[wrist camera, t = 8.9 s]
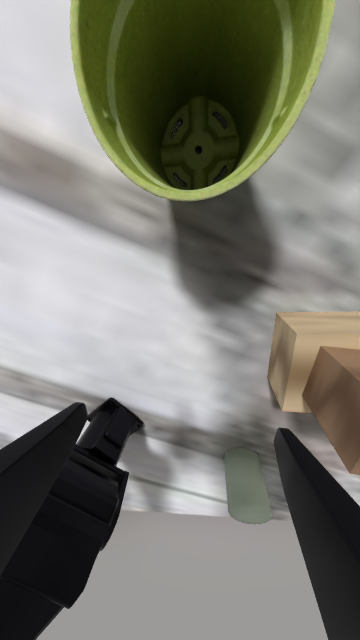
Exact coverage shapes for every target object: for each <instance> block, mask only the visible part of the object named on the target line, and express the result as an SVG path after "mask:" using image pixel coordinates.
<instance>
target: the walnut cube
mask: <svg viewBox="0 0 360 640" xmlns="http://www.w3.org/2000/svg"><path fill="white" fill-rule="evenodd" d="M302 396H303V398H304V400H305V401H306V403H307V405H308V406H309V408H310V409H311V411H312V413H313V414H314V416H315V418H316V419H317V421H318V423H319V424H320V426H321V427H322V429H323V431H324V432H325V434H326V436H327V437H328V439H329V440H330V442H331V444H332V445H333V447H334V449H335V450H336V452H337V453H338V455H339V457H340V458H341V460H342V462H343V463H344V465H345V467H346V468H347V470H348V471H349V473H351V474H357V475H360V349H349V348H339V347H328V346H320V348H319V351H318V354H317V356H316V359H315V362H314V364H313V367H312V370H311V372H310V375H309V378H308V380H307V383H306V386H305V388H304V391H303V393H302Z"/></svg>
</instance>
